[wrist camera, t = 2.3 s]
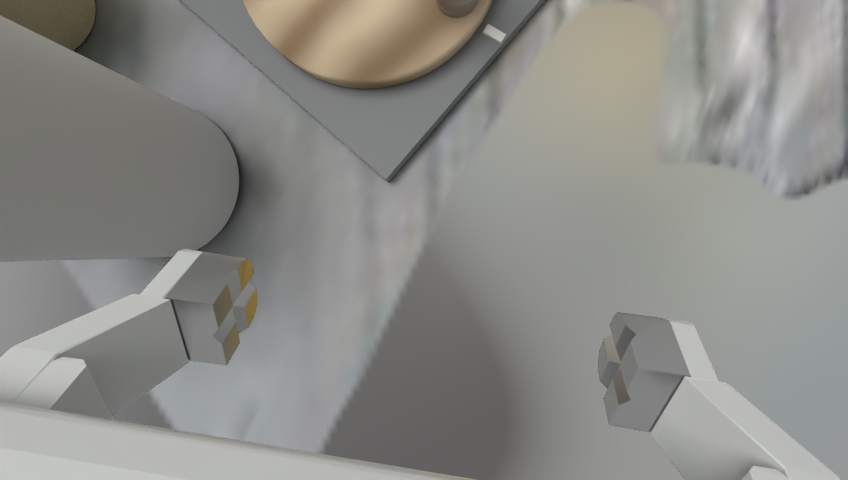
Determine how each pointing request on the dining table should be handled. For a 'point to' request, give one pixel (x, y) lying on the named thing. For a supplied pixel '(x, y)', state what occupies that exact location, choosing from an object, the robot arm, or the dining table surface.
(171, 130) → the cylinder vase
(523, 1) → the dial base
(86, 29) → the plant pot
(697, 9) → the dining table surface
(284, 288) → the dining table surface
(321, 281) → the dining table surface
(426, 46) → the dial
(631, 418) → the robot arm
